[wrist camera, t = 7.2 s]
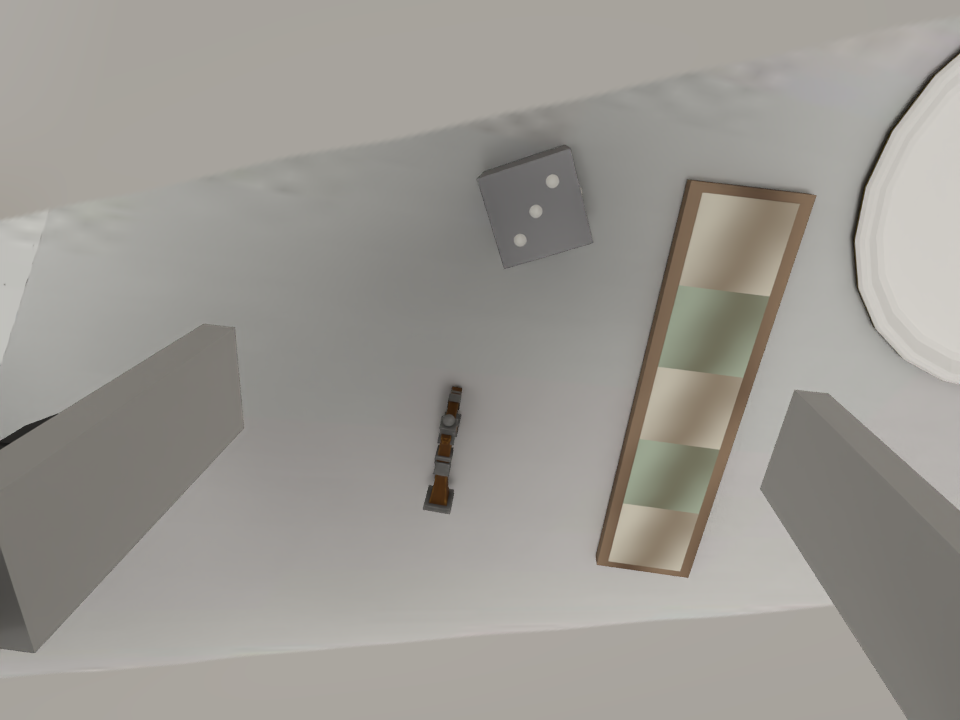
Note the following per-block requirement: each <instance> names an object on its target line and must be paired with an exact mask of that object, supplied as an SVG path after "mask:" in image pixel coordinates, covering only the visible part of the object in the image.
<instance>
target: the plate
mask: <svg viewBox="0 0 960 720" xmlns="http://www.w3.org/2000/svg"><path fill="white" fill-rule="evenodd" d="M853 241H854V254H855V267H856V280H857V288H858V291H859V293H860V296H861V298H862V300H863V303H864V305H865V307H866V310H867V312H868V314H869V317H870V319H871V322H872V324H873V326H874V328H875V329H876V330H877V331H878V332H879V333H880V334H881V336H882V337H883V338H884V339H885V340H886V341H887V342H888V343H889V344H890V345H891V346H892V348H893V349H894V350H895V351H896V352H897V353H898V354H899V355H900V356H901V357H902V358H903V359H904V360H906V361H908V362H909V363H911V364H913V365H915V366H917V367H918V368H920V369H922V370H924V371H926V372H928V373H929V374H931V375H933V376H935V377H937V378H938V379H940V380H943V381H947V382H951V383H956V384H960V53H958V54H957V55H956V56H955V57H954V58H953V59H952V60H951V61H949V62H948V63H947V64H946V65H945V66H944V67H943V68H942V69H940V70H939V71H938V72H937V73H936V74H935V75H934V76H933V77H932V78H931V79H930V81H929V82H928V83H927V84H926V86H925V87H924V88H923V90H922V91H921V92H920V94H919V95H918V96H917V98H916V99H915V100H914V101H913V103H912V104H911V105H910V107H909V108H908V109H907V111H906V112H905V113H904V115H903V116H902V117H901V119H900V120H899V121H898V122H897V124H896V125H895V126H894V128H893V129H892V130H891V132H890V134H889V136H888V138H887V140H886V142H885V145H884V147H883V149H882V151H881V153H880V155H879V157H878V159H877V161H876V164H875V166H874V168H873V170H872V172H871V174H870V176H869V178H868V180H867V183H866V185H865V187H864V191H863V196H862V201H861V206H860V211H859V215H858V220H857V225H856V230H855V235H854V240H853Z"/></svg>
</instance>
